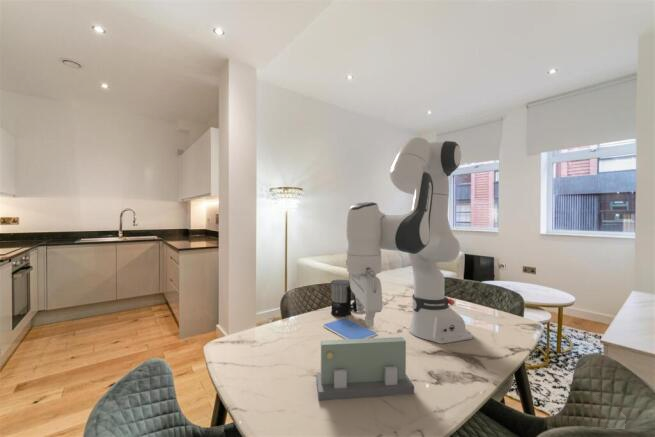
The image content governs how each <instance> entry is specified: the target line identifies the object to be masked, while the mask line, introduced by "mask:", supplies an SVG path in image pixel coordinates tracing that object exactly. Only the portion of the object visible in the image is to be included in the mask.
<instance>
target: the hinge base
mask: <svg viewBox="0 0 655 437" xmlns="http://www.w3.org/2000/svg"><path fill="white" fill-rule="evenodd" d="M315 377H316V390H317V398H318V401H328V400H342V399H343V400H344V399H356V398H357V399H359V398H373V397H374V398H375V397H391V396H400V395H401V396H403V395H414V394H415V384H413V382H412V381H411V379H410V378H409V376H408V375H407V374H406V379H403V380H397V367H385V376H384V381H370V382H354V383H347V371H346V369H342V370H334V384H321V372H316V376H315Z"/></svg>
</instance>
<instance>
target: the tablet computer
mask: <svg viewBox="0 0 655 437" xmlns="http://www.w3.org/2000/svg"><path fill="white" fill-rule="evenodd" d="M322 327H323V328H325V329H327V330H328V331H331V332H333V333H334V334H335V335H337V336H339V337H341V338H343V340H345V339H368V338H376V337H377V336H378V332H375V331H373V330H372V329H369V328H367V327H364V326H362V325H361V324H358V323H357V322H355V321H352V320H350V319H348V318H346V317H342V318H341V319H337V320H334V321H329V322H327V323H324V324H322Z"/></svg>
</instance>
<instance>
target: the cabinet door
mask: <svg viewBox="0 0 655 437" xmlns="http://www.w3.org/2000/svg"><path fill="white" fill-rule="evenodd" d="M406 346H407V341H406V340H405V339H404V337H403V336H394V337H391V336H390V337H372V338H368V339H325V340H323V339H321V340H320V373H321V384H334V370H342V369H346V371H347V383H354V382H370V381H384V376H385V367H397V380H403V379H406V375H407V372H406V371H407V370H406V369H407V368H406V367H407V366H406V365H407V364H406V362H407V360H406V359H407V358H406V357H407V347H406Z"/></svg>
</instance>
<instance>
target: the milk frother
mask: <svg viewBox="0 0 655 437" xmlns="http://www.w3.org/2000/svg"><path fill="white" fill-rule="evenodd" d="M330 284H331V312H330V314H331V315H332V316H334V317H339V318H346V317H349V316H350V315H351V314H352V312H351V311H354V312H358V311H357V304H356V299H355V295H354V294H353V295H354V298H353V302H352V291H351V288H350V282H349V279H333V280H331V281H330Z"/></svg>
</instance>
